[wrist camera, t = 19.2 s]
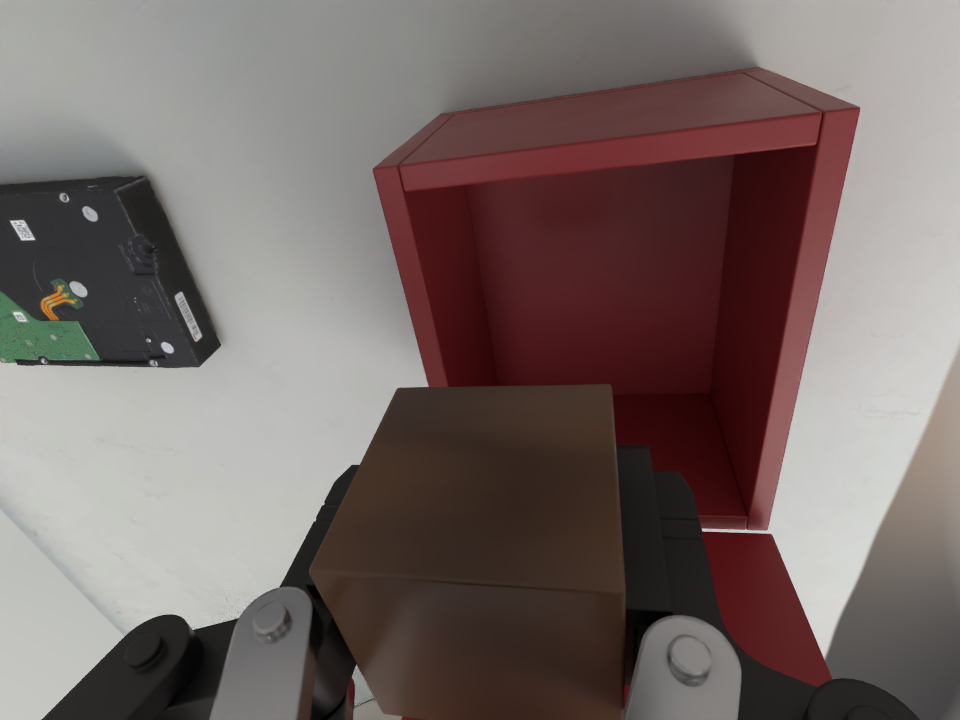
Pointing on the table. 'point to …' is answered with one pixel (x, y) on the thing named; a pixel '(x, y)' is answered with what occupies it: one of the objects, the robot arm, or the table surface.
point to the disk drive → (96, 278)
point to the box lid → (760, 606)
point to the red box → (633, 260)
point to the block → (485, 556)
